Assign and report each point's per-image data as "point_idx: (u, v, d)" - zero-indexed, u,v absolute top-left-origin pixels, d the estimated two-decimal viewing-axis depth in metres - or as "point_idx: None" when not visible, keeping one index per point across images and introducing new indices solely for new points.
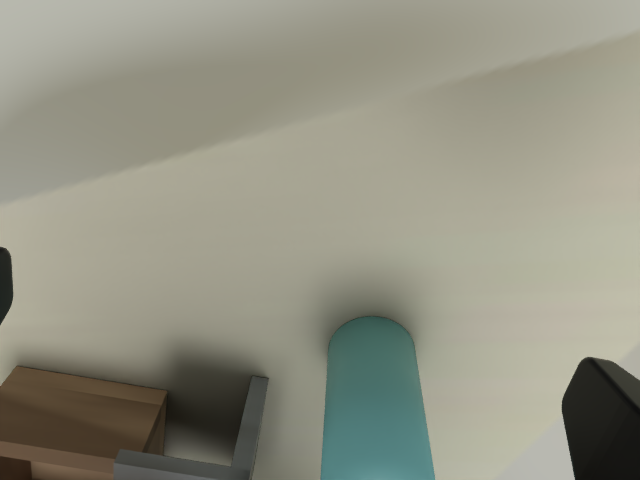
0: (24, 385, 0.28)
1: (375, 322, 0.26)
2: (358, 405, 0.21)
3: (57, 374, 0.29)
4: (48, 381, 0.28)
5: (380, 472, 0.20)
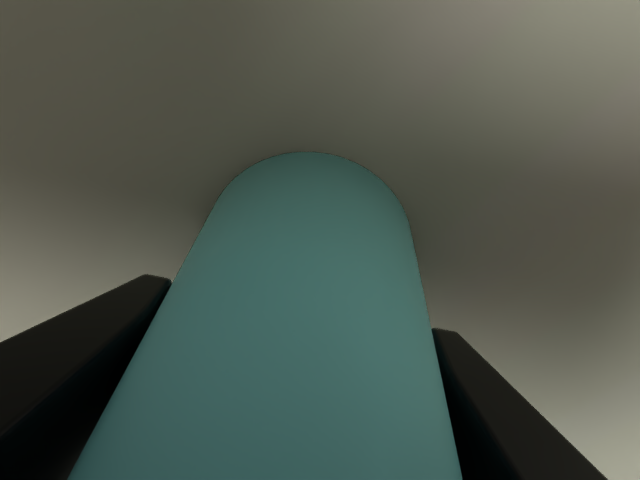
0: None
1: (230, 186, 0.10)
2: None
3: None
4: None
5: None
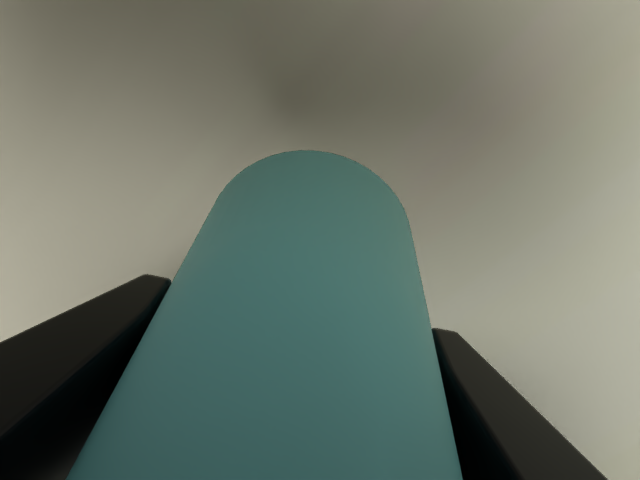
0: None
1: (231, 184, 0.10)
2: None
3: None
4: None
5: None
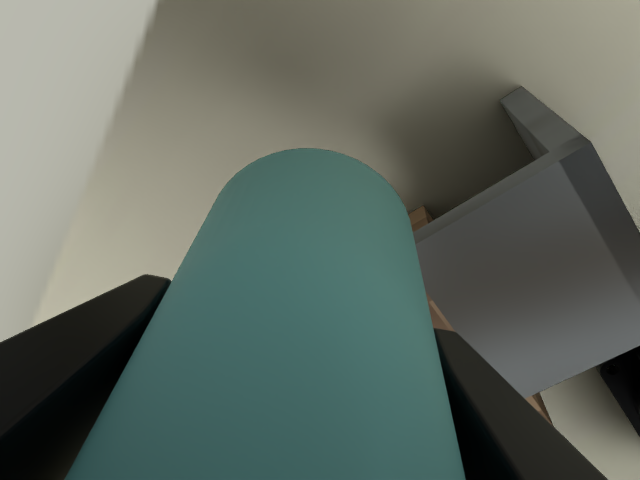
0: None
1: (231, 183, 0.10)
2: None
3: None
4: None
5: None
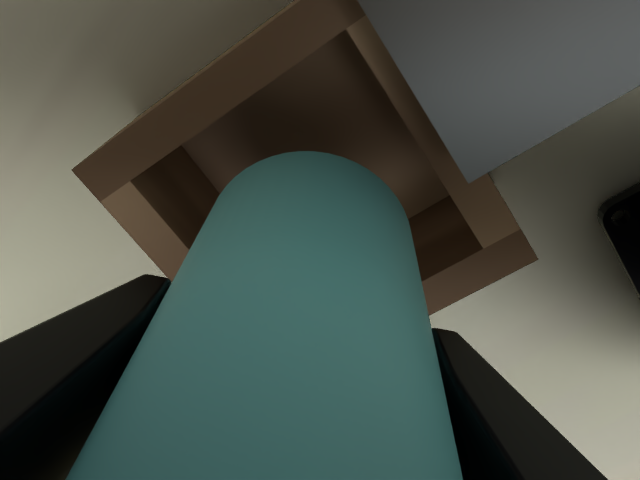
0: (151, 107, 0.15)
1: (230, 185, 0.10)
2: None
3: (192, 76, 0.16)
4: (181, 84, 0.16)
5: None
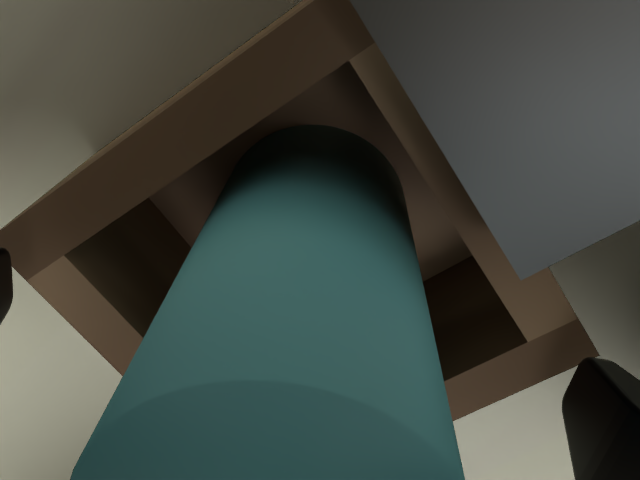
0: (105, 147, 0.12)
1: (247, 154, 0.12)
2: None
3: (158, 107, 0.13)
4: (144, 117, 0.13)
5: (179, 475, 0.05)
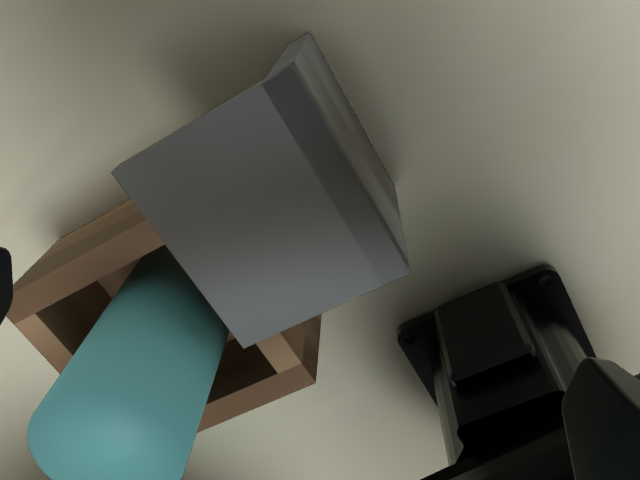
0: (64, 242, 0.21)
1: None
2: None
3: (98, 217, 0.22)
4: (88, 226, 0.21)
5: (71, 422, 0.14)
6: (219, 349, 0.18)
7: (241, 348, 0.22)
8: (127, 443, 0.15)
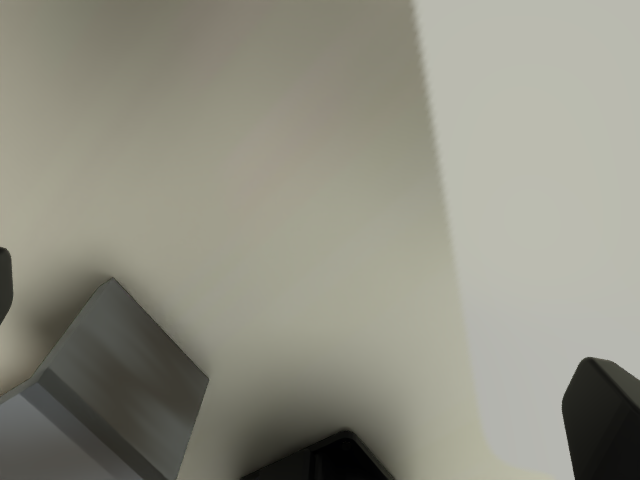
0: None
1: None
2: None
3: None
4: None
5: None
6: None
7: None
8: None
